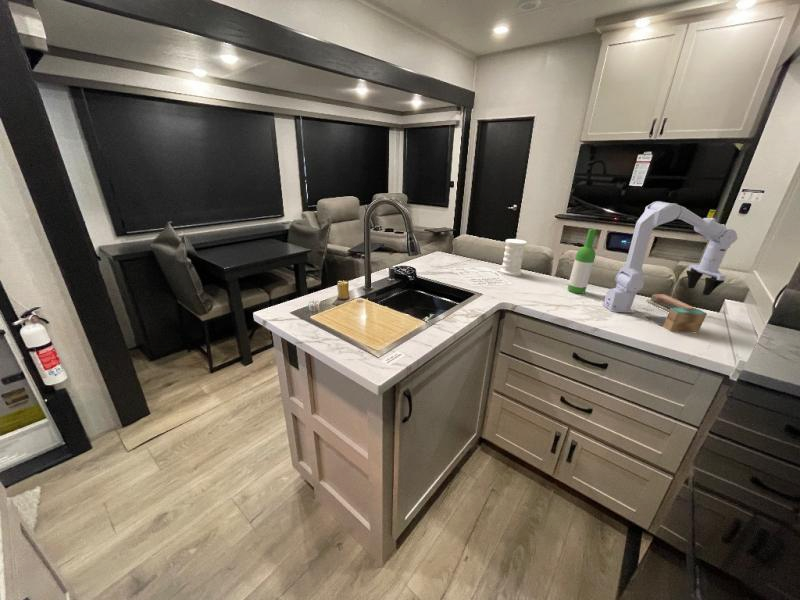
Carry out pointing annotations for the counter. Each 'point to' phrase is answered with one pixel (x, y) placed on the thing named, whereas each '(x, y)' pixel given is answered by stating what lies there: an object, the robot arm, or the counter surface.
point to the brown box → (684, 320)
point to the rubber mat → (657, 320)
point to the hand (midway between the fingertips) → (697, 291)
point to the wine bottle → (582, 265)
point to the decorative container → (513, 257)
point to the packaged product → (667, 302)
